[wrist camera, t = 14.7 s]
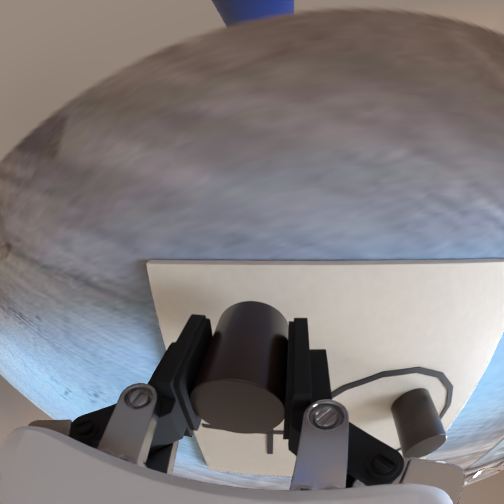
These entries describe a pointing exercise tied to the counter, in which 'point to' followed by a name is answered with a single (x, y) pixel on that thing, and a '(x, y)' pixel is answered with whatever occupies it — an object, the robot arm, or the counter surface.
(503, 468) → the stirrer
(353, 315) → the board
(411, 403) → the dot
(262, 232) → the counter surface
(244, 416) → the dot
